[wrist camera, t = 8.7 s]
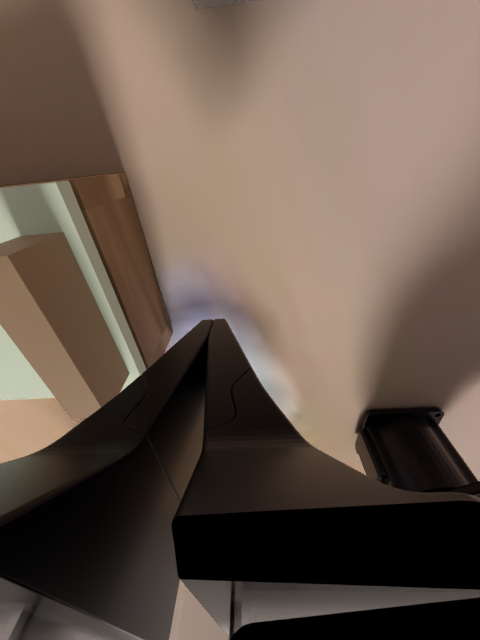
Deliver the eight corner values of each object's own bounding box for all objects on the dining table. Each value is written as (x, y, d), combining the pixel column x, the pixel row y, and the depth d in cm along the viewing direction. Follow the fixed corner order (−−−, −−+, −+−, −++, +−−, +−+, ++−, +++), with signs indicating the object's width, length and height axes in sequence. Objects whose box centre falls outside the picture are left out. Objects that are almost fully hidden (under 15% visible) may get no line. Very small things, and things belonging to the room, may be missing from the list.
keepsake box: (124, 172, 13) (73, 179, 9) (172, 332, 18) (153, 378, 14) (-93, 196, 13) (-225, 212, 10) (16, 342, 19) (-40, 389, 15)
